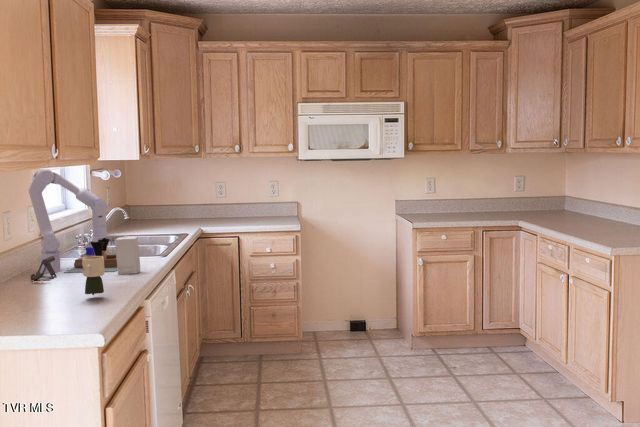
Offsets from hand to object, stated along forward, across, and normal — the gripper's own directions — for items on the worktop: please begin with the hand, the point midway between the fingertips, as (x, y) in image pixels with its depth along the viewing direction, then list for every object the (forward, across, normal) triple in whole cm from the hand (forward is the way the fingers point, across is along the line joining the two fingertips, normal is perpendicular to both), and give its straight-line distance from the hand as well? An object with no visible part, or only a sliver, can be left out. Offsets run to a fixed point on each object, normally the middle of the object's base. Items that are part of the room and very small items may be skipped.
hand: (100, 256), depth 272 cm
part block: (+3, 0, 0) cm, 3 cm away
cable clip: (+5, +24, +11) cm, 26 cm away
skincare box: (+5, -19, -17) cm, 26 cm away
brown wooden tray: (+4, 0, 0) cm, 4 cm away
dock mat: (+4, -8, 0) cm, 9 cm away
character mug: (+5, -60, -16) cm, 62 cm away
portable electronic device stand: (+5, -27, +14) cm, 31 cm away
